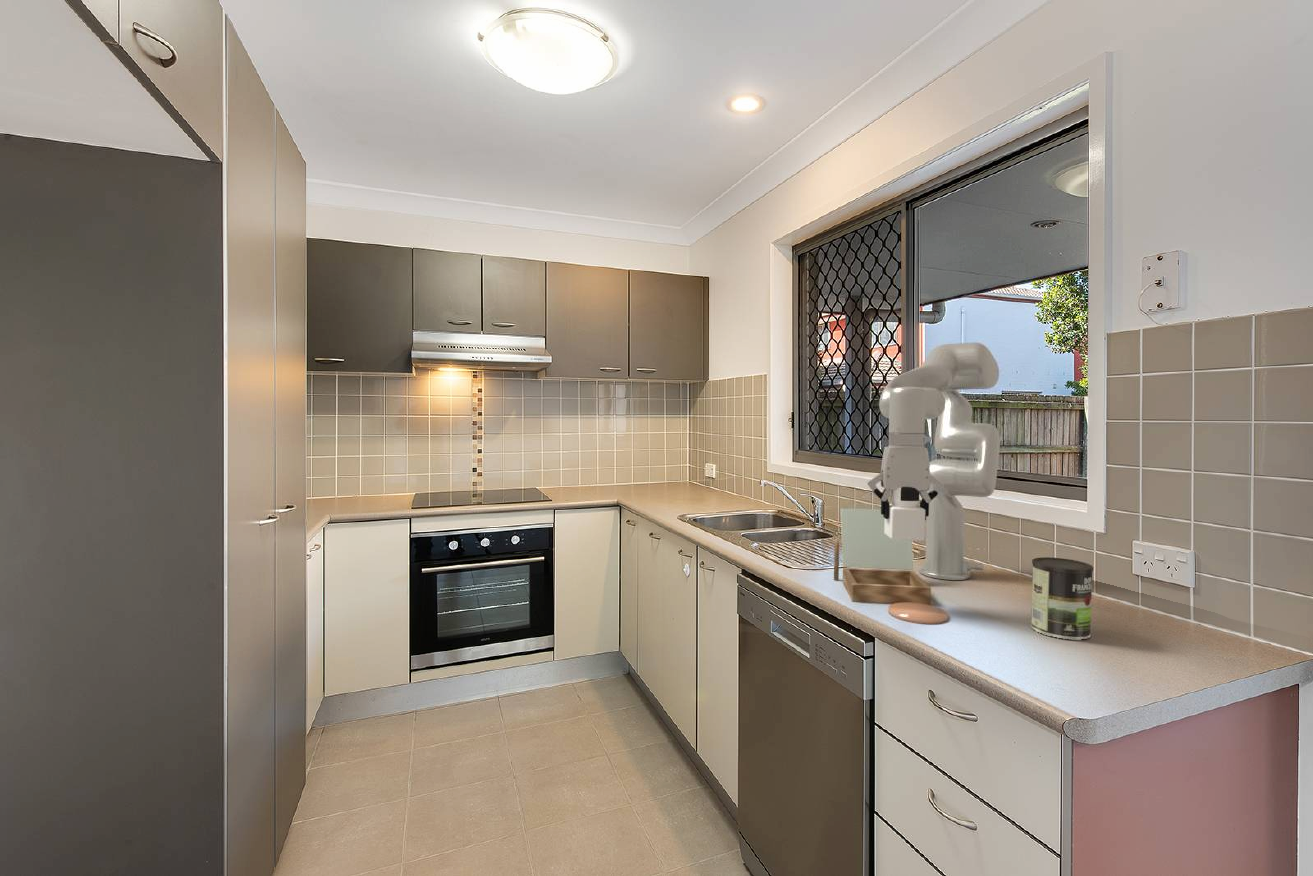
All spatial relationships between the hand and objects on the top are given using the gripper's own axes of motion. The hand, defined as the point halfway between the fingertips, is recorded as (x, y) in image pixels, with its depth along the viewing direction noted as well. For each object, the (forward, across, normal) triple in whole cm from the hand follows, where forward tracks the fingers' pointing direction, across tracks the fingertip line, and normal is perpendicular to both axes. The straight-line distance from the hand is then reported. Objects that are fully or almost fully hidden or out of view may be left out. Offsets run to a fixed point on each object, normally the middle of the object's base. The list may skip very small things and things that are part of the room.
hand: (904, 518), depth 139 cm
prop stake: (+20, +13, -20) cm, 31 cm away
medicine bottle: (+5, 0, 0) cm, 5 cm away
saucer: (+20, -2, +5) cm, 21 cm away
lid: (+9, +3, -20) cm, 22 cm away
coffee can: (+21, -28, +10) cm, 36 cm away
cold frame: (+20, +2, -10) cm, 23 cm away
